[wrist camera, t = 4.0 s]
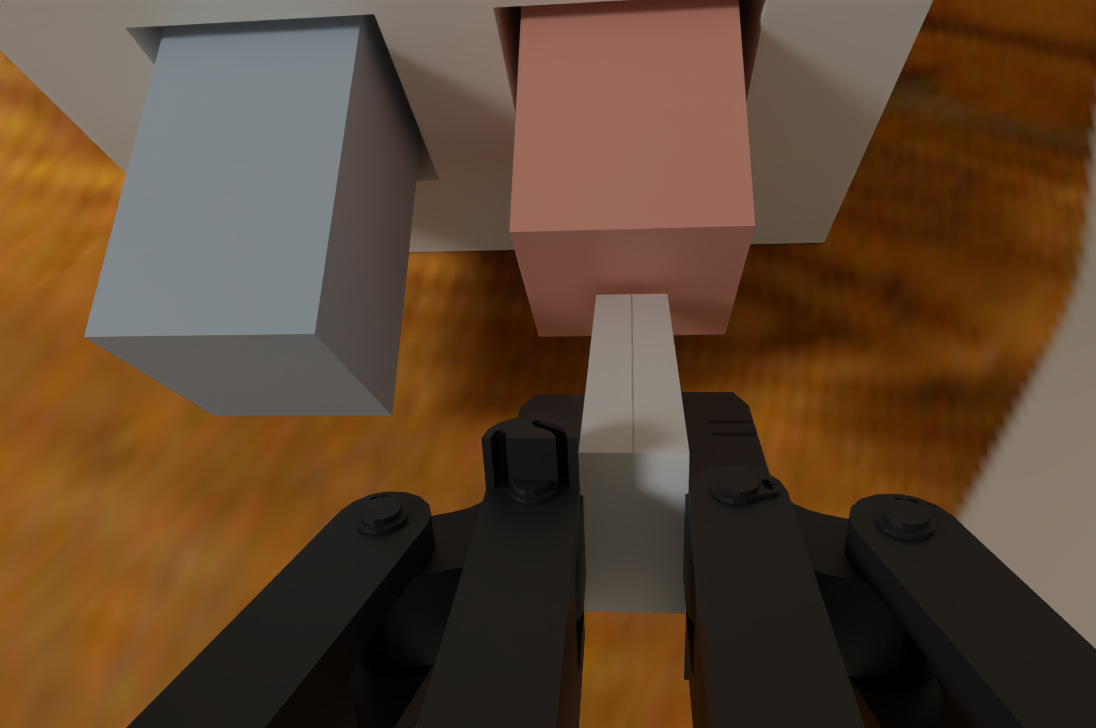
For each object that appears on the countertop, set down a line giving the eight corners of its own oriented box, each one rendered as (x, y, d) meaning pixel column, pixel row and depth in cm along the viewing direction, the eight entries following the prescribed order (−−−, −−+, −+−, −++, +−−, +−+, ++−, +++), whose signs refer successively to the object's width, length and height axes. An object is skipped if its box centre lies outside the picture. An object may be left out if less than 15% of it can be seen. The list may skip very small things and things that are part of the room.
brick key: (555, -127, 25) (537, -307, 21) (698, -137, 25) (714, -324, 20) (538, 336, 19) (509, 232, 15) (725, 334, 19) (755, 225, 14)
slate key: (304, -64, 25) (231, -229, 21) (443, -73, 25) (398, -245, 20) (214, 416, 20) (83, 336, 15) (392, 415, 19) (314, 333, 14)
